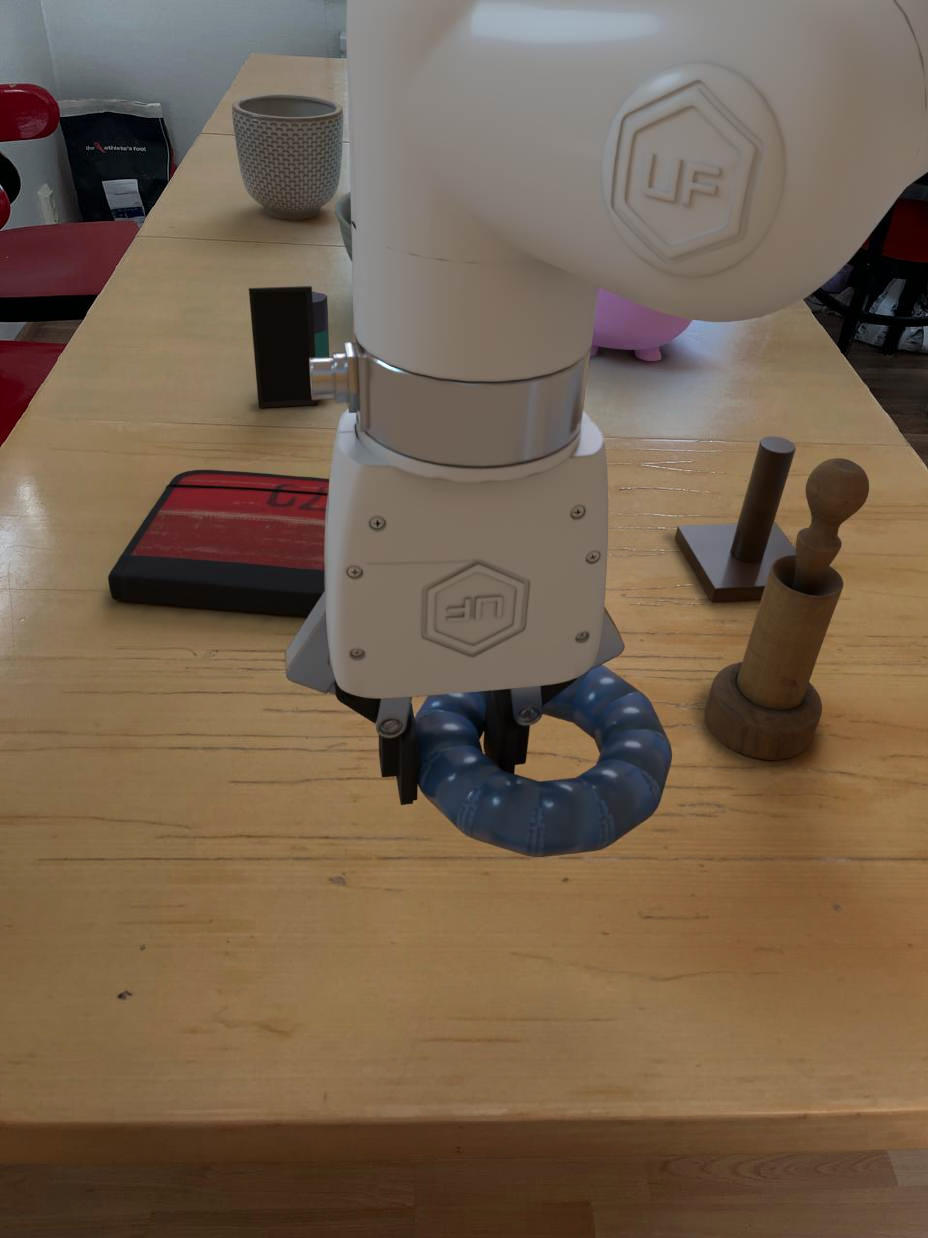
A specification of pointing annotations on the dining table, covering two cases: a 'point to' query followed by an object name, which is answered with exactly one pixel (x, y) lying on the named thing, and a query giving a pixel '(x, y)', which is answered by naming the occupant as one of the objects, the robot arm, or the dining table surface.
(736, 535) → the stand
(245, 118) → the planter
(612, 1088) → the dining table surface
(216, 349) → the dining table surface
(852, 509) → the mortar and pestle
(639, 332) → the teapot
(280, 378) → the speaker
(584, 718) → the blue ring
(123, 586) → the ink pad
